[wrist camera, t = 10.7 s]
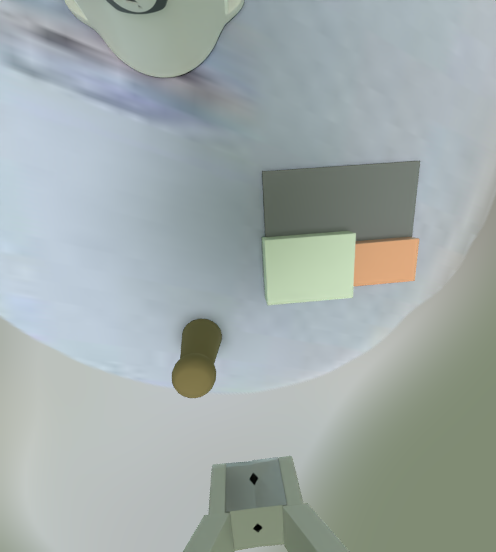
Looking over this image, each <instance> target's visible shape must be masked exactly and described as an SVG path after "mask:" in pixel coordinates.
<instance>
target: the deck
mask: <svg viewBox="0 0 496 552" xmlns="http://www.w3.org/2000/svg"><path fill="white" fill-rule="evenodd" d="M355 242H356V233H353V232H349V231H340V232H328V233H315V234H302V235H289V236H277V237H262V250H263V268H264V287H265V299H266V301H267V304H268V305H277V304H288V303H299V302H310V301H321V300H332V299H343V298H353V284H354V263H355Z"/></svg>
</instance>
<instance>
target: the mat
mask: <svg viewBox="0 0 496 552" xmlns="http://www.w3.org/2000/svg"><path fill="white" fill-rule="evenodd" d="M419 167H420V161H410V162H396V163H381V164H366V165H351V166H336V167H322V168H307V169H292V170H277V171H262V179H263V199H264V219H265V237H277V236H289V235H302V234H315V233H328V232H340V231H349V232H353V233H356V241H365V240H377V239H388V238H400V237H412V232H413V222H414V213H415V204H416V195H417V185H418V176H419Z"/></svg>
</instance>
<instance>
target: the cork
mask: <svg viewBox="0 0 496 552" xmlns="http://www.w3.org/2000/svg"><path fill="white" fill-rule="evenodd" d="M221 340H222V334H221V330H220V328H219V327H218V326H217V324H215V323H214V322H213V321H210V320H207V319H197V320H193V321H191V322H190V323H188V324H187V325H186V327H185V328H184V330H183V333H182V344H181V355H180V360H179V361H178V362H177V363H176V364H175V366H174V369H173V372H172V383H173V386H174V388H175V389H176V390H177V391H178V393H179V394H181V395H182V396H185V397H188V398H198V397H201V396H203V395H205V394H207V393H208V392H209V391H210V390H211V389H212V387H213V385H214V383H215V381H216V369H215V366H214V362H215V359H216V356H217V353H218V350H219V346H220V343H221Z"/></svg>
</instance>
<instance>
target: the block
mask: <svg viewBox="0 0 496 552" xmlns="http://www.w3.org/2000/svg"><path fill="white" fill-rule="evenodd" d="M418 245H419V239H418V238H414V237H400V238H388V239H377V240H365V241H356V242H355V263H354V284H353V286H363V285H374V284H385V283H395V282H406V281H415V272H416V263H417V254H418Z"/></svg>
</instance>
